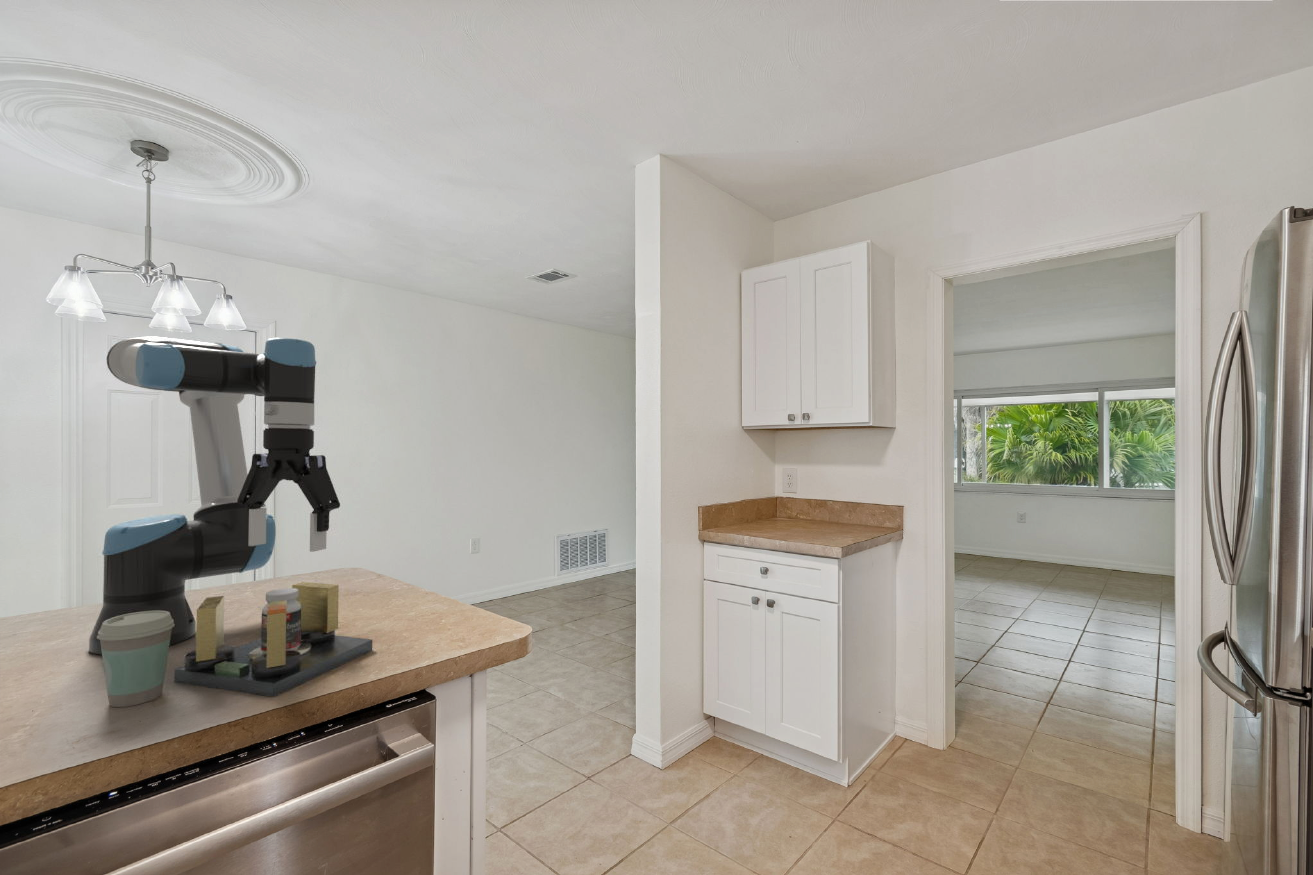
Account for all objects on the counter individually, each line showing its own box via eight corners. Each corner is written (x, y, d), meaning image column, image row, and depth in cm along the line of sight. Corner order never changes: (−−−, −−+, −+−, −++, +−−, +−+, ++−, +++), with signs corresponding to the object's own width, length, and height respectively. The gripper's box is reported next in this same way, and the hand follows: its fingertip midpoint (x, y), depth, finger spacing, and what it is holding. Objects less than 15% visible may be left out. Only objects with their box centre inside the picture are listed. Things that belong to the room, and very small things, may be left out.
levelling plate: (174, 681, 91) (174, 661, 91) (285, 639, 110) (286, 623, 110) (273, 697, 86) (273, 675, 86) (372, 650, 105) (372, 632, 105)
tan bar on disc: (253, 666, 92) (254, 600, 92) (300, 658, 96) (300, 594, 96) (250, 683, 85) (251, 612, 86) (300, 674, 89) (301, 606, 89)
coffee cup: (129, 687, 89) (130, 609, 89) (187, 685, 89) (188, 608, 90) (78, 713, 80) (79, 627, 80) (143, 711, 81) (144, 626, 81)
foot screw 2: (281, 643, 103) (282, 587, 103) (312, 631, 109) (312, 579, 109) (317, 647, 100) (318, 590, 101) (346, 635, 107) (347, 582, 107)
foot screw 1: (190, 659, 95) (191, 599, 95) (237, 652, 98) (238, 594, 98) (179, 676, 88) (180, 611, 88) (230, 668, 91) (231, 606, 91)
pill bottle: (274, 657, 94) (274, 597, 94) (253, 652, 97) (254, 593, 97) (308, 646, 99) (308, 589, 99) (287, 641, 102) (288, 585, 102)
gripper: (214, 425, 101) (212, 546, 101) (328, 427, 94) (326, 556, 94) (254, 426, 108) (252, 539, 108) (363, 428, 101) (361, 548, 101)
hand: (287, 547), depth 101 cm, fingers open, 13 cm apart
